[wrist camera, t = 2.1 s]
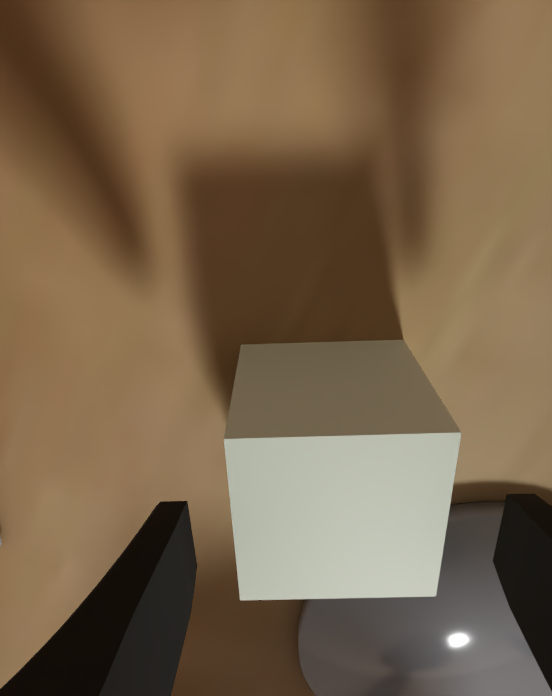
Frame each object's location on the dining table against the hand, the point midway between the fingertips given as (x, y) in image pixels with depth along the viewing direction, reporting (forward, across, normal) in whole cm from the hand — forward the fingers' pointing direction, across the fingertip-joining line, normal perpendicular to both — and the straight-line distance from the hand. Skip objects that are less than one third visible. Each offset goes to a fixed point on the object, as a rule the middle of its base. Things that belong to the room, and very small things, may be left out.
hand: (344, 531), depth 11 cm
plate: (+5, -6, +11) cm, 13 cm away
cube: (+5, 0, 0) cm, 5 cm away
